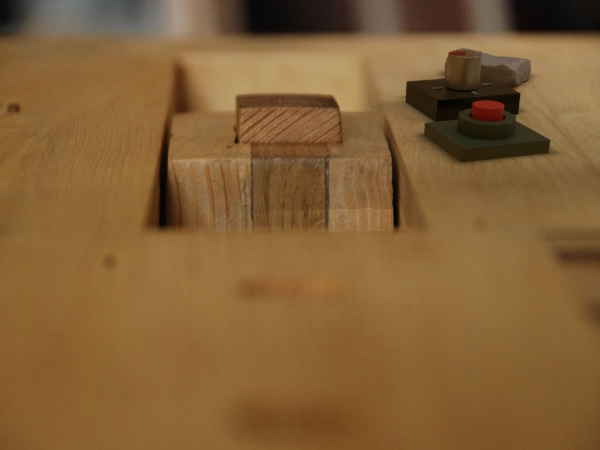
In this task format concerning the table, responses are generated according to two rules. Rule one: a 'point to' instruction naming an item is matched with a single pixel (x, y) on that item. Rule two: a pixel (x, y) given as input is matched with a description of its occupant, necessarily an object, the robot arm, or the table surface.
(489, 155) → the button box
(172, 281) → the table surface
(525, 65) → the stone block
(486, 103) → the button
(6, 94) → the table surface
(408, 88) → the panel
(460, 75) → the dial
